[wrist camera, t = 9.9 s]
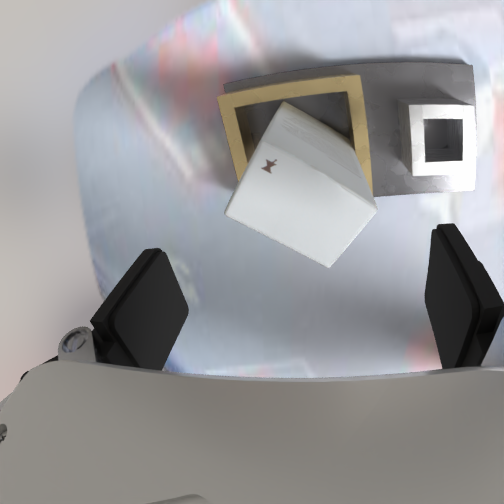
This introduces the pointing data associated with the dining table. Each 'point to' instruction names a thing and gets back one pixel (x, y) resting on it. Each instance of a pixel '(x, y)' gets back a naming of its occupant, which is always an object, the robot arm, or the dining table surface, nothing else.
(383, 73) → the plate
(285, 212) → the skincare box
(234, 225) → the dining table surface
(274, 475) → the robot arm
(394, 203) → the dining table surface
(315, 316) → the dining table surface
